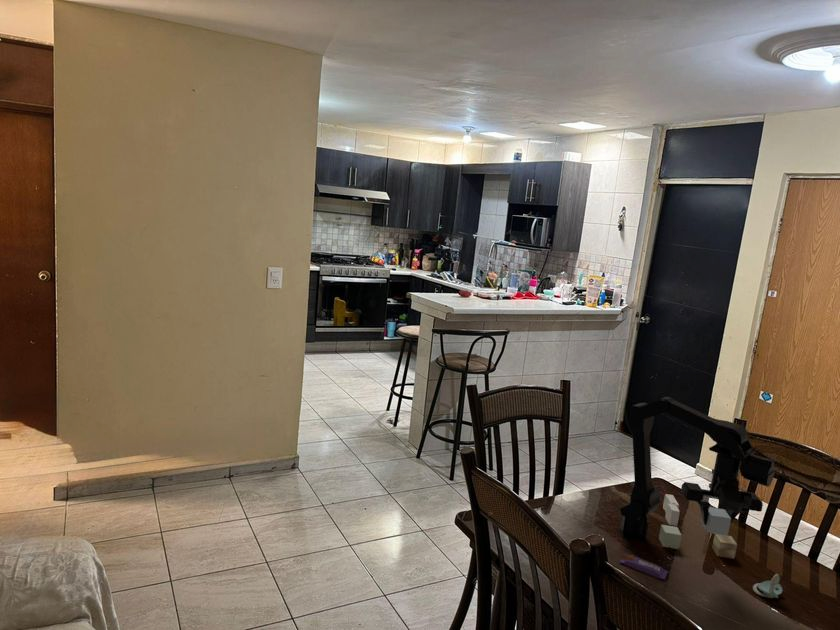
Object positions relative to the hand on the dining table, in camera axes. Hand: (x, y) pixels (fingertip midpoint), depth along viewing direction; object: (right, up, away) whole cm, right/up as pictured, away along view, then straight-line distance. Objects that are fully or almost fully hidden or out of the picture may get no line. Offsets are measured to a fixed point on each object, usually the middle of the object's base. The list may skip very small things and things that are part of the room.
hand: (715, 525), depth 154 cm
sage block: (-6, -10, +14) cm, 18 cm away
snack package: (-19, -12, 0) cm, 23 cm away
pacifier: (+10, -16, -6) cm, 19 cm away
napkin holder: (0, -9, +31) cm, 32 cm away
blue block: (0, -1, 0) cm, 1 cm away
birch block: (+8, -12, +12) cm, 19 cm away
